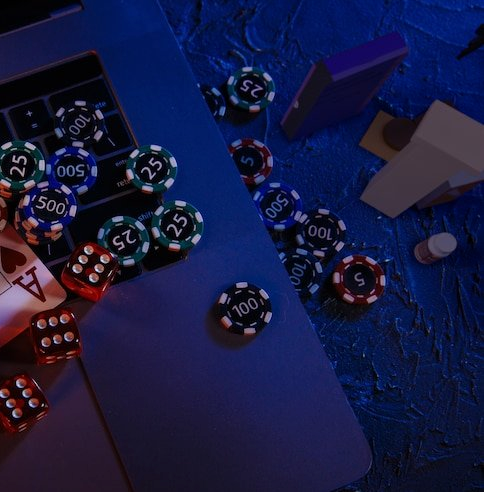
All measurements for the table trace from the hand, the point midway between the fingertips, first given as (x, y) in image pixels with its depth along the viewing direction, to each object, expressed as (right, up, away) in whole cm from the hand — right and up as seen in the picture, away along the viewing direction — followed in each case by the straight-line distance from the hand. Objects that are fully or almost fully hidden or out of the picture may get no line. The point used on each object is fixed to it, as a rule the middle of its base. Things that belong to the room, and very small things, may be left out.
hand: (481, 80), depth 128 cm
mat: (-15, -12, +6) cm, 20 cm away
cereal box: (-31, -6, +8) cm, 33 cm away
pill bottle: (-12, -36, 0) cm, 38 cm away
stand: (-19, -24, +3) cm, 31 cm away
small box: (-9, -23, +3) cm, 25 cm away
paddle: (-10, -8, +7) cm, 15 cm away
